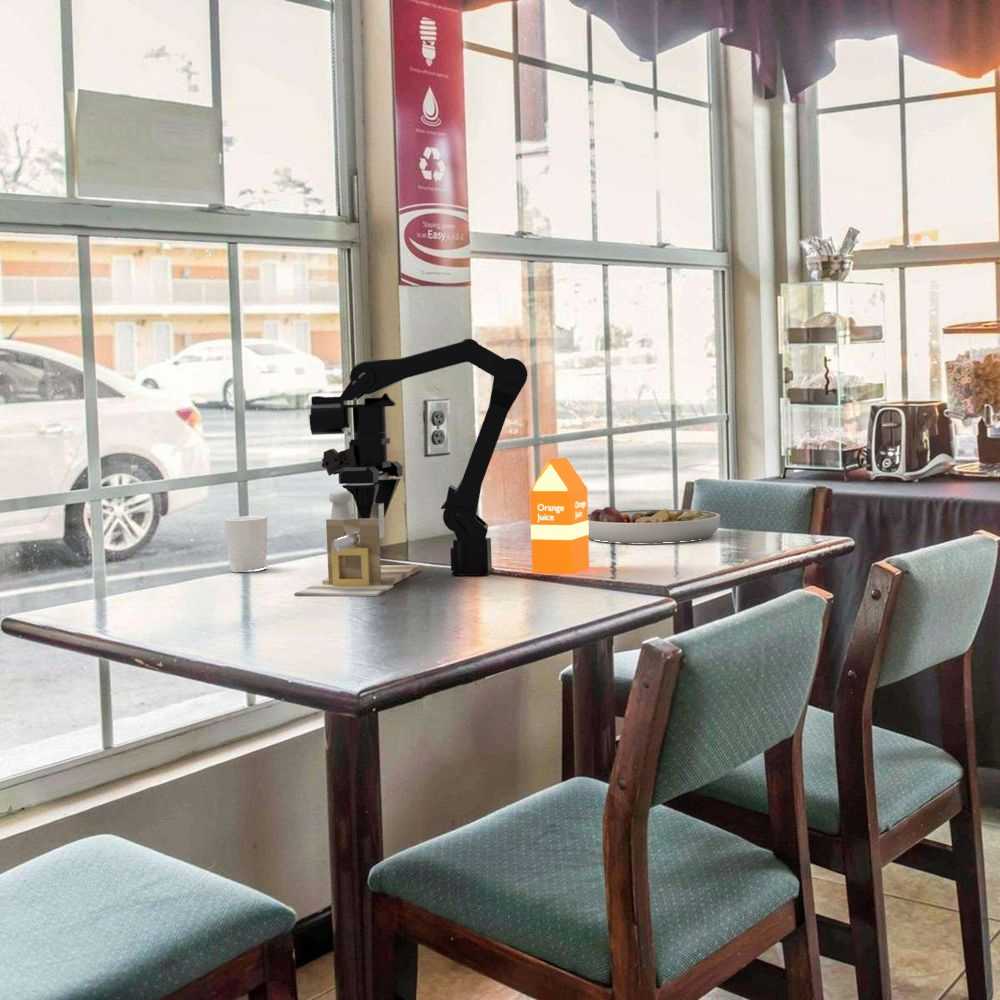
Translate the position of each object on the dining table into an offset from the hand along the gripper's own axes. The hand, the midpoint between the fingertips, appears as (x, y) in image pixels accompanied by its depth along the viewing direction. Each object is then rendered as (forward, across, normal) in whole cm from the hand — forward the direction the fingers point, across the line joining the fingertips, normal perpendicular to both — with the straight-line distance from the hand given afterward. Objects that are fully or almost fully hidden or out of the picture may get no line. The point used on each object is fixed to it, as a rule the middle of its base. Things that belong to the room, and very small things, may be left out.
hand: (373, 520), depth 229 cm
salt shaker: (+10, -34, -18) cm, 39 cm away
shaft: (+3, +9, 0) cm, 9 cm away
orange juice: (+10, -8, +32) cm, 35 cm away
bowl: (+11, -58, +43) cm, 73 cm away
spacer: (+10, +13, 0) cm, 16 cm away
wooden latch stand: (+10, +7, 0) cm, 12 cm away
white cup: (+10, -9, -28) cm, 31 cm away
